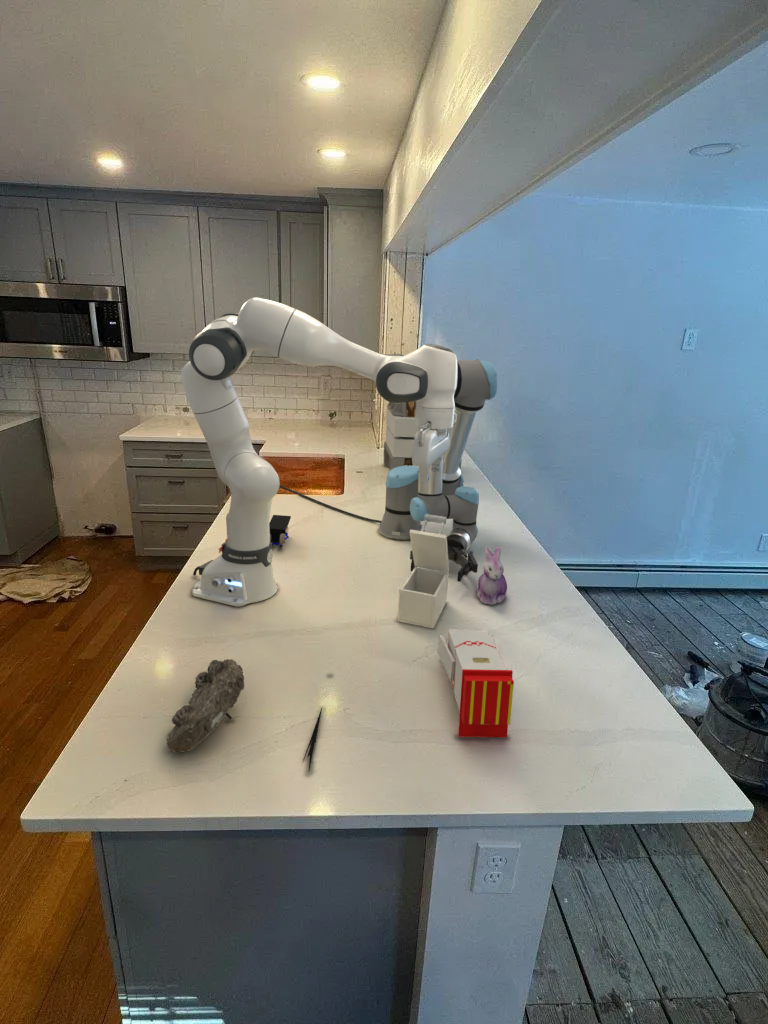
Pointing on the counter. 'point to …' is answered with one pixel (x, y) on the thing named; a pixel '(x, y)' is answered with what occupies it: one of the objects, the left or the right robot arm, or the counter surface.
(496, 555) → the figurine
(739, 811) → the counter surface
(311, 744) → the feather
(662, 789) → the counter surface
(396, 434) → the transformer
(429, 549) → the lid
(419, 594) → the chest
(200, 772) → the counter surface
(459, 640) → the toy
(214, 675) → the fossil
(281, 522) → the figurine character
